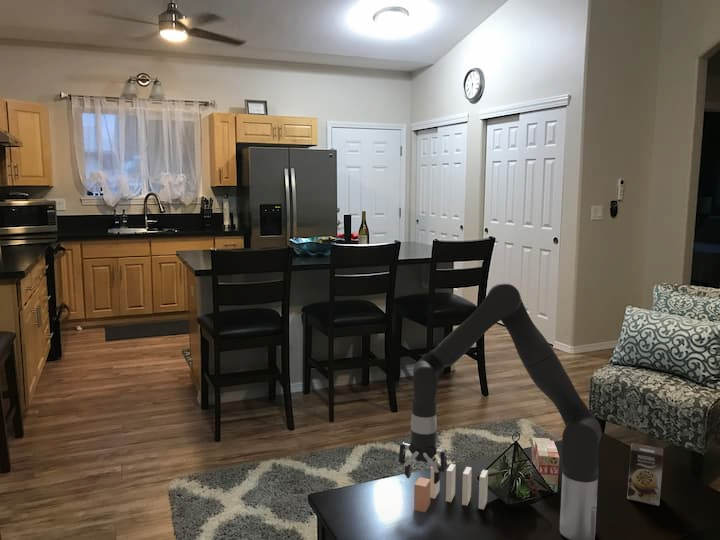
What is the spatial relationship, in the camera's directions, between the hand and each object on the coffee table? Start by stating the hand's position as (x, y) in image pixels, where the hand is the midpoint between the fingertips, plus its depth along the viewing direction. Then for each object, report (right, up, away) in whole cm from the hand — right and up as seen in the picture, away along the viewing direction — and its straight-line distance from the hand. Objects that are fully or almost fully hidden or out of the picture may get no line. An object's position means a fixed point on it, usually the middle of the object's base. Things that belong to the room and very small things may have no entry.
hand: (422, 479), depth 174 cm
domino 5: (+19, -8, +2) cm, 20 cm away
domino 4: (+14, -8, +4) cm, 17 cm away
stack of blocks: (+43, -7, +20) cm, 48 cm away
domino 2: (+5, -8, +8) cm, 12 cm away
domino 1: (0, -8, +1) cm, 9 cm away
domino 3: (+9, -8, +6) cm, 14 cm away
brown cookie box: (+69, -8, +6) cm, 70 cm away
